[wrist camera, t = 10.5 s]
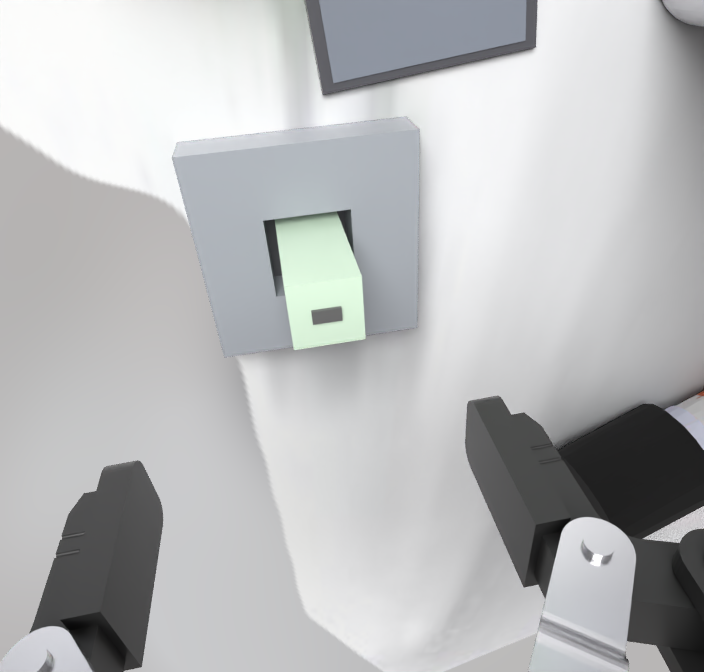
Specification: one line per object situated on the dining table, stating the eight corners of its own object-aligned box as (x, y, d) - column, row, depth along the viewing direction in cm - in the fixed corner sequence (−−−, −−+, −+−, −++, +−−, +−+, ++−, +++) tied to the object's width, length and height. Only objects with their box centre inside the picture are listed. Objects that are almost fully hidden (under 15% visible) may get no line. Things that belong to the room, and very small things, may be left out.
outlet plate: (406, 116, 33) (419, 129, 30) (406, 306, 41) (417, 327, 39) (177, 142, 31) (171, 157, 29) (225, 333, 40) (224, 357, 37)
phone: (294, -52, 28) (295, -53, 27) (532, -102, 28) (541, -104, 27) (320, 91, 32) (323, 95, 31) (528, 45, 32) (536, 47, 31)
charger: (333, 203, 35) (362, 278, 27) (338, 257, 37) (366, 341, 29) (273, 211, 35) (284, 289, 26) (282, 265, 37) (294, 352, 29)
